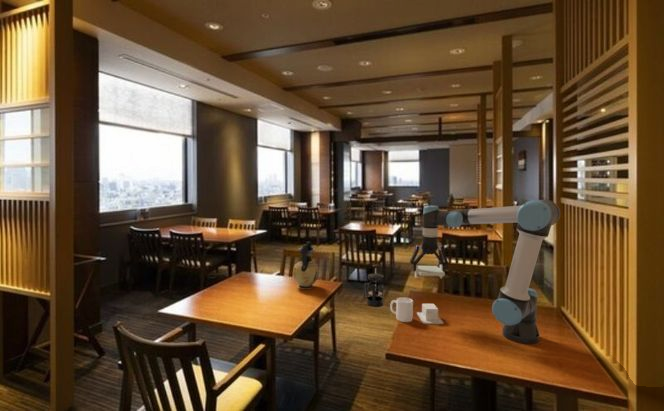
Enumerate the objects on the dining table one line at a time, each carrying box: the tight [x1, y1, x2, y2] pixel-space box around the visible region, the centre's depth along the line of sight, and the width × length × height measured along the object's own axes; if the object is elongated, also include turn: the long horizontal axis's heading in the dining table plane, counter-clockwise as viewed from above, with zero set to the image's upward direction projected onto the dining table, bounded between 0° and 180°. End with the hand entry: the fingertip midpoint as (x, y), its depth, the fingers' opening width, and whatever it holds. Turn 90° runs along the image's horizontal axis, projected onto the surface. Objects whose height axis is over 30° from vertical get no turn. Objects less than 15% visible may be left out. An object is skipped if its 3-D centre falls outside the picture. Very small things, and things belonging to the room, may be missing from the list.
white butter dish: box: [416, 303, 444, 325], centre depth 184 cm, size 14×10×6 cm
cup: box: [389, 296, 414, 323], centre depth 183 cm, size 8×12×10 cm
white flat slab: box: [418, 265, 446, 277], centre depth 182 cm, size 14×12×2 cm
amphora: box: [292, 240, 320, 290], centre depth 234 cm, size 18×17×30 cm
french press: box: [363, 264, 384, 308], centre depth 204 cm, size 12×9×23 cm
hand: (428, 277), depth 183 cm, fingers closed on white flat slab, 12 cm apart
